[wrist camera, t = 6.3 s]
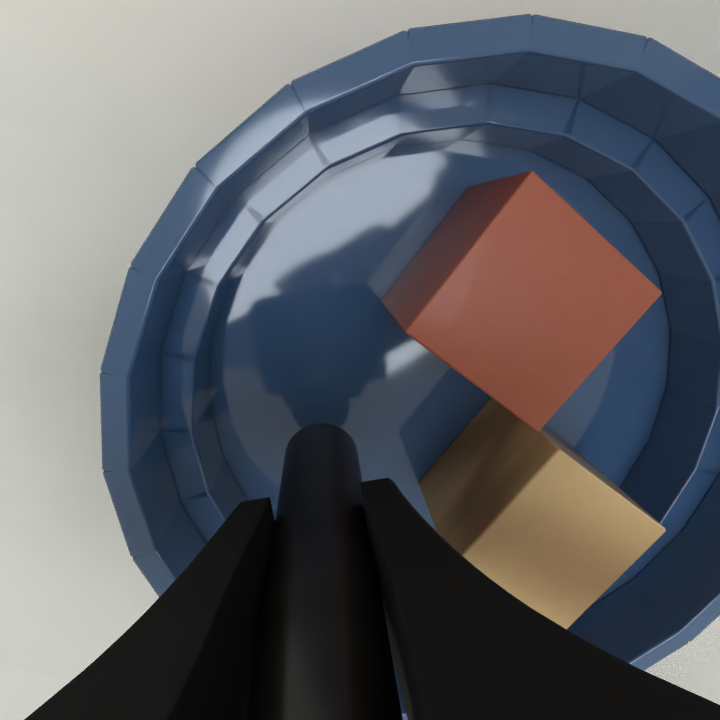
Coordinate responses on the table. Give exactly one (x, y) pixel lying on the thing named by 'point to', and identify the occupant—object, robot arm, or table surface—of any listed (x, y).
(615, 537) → the maple block
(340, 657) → the dark grey rod
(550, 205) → the terracotta block
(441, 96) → the bowl
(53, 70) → the table surface
